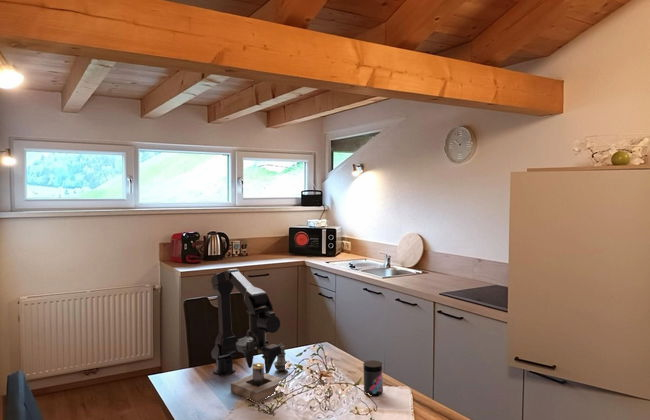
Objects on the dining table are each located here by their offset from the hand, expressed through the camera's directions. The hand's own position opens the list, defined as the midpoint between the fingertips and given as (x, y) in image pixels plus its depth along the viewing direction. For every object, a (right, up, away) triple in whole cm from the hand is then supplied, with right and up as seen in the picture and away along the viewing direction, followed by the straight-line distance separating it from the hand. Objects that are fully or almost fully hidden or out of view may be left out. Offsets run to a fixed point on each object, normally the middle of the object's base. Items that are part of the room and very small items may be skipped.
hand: (258, 370), depth 171 cm
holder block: (0, -8, 0) cm, 8 cm away
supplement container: (+41, -7, -3) cm, 41 cm away
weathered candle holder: (+6, -7, +19) cm, 21 cm away
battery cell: (0, -7, 0) cm, 7 cm away
